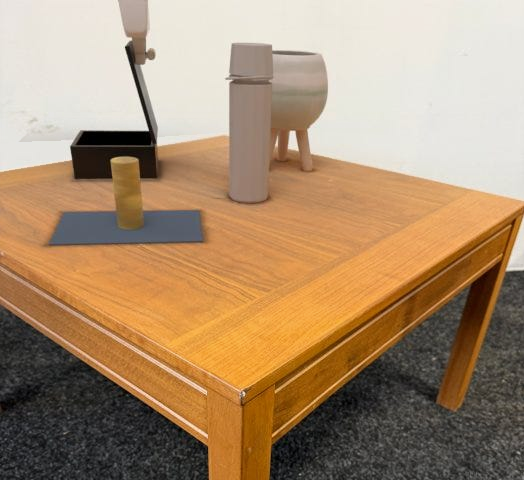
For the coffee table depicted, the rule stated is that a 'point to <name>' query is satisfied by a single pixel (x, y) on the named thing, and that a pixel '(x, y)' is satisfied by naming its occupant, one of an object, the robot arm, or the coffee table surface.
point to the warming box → (112, 153)
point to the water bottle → (249, 121)
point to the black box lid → (143, 89)
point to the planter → (296, 100)
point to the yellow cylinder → (127, 192)
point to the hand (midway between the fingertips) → (141, 62)
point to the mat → (107, 231)
